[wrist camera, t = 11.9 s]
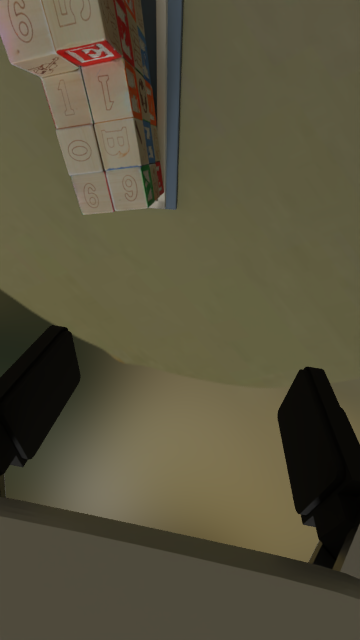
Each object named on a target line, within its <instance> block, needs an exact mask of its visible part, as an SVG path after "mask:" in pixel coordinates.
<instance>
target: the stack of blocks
mask: <svg viewBox="0 0 360 640" xmlns="http://www.w3.org/2000/svg"><path fill="white" fill-rule="evenodd" d="M0 36H1V39H2V42H3V44H4V47H5V50H6V52H7V55H8V58H9V61H10V63H11V65H14V66H17V67H19V68H21V69H23V70H25V71H28V72H30V73H32V74H35V75H37V76H39V77H40V78H41V81H42V85H43V88H44V91H45V94H46V98H47V101H48V104H49V107H50V111H51V114H52V117H53V121H54V124H55V127H56V134H57V137H58V140H59V144H60V147H61V150H62V154H63V157H64V160H65V163H66V167H67V170H68V173H69V175H70V176H71V179H72V183H73V186H74V189H75V192H76V196H77V200H78V202H79V206H80V209H81V212H82V214H83V215H86V214H96V213H107V212H114V211H123V210H133V209H144V208H149V207H150V206H151V205H152V204H153V203H154V202H155V200H156V199H158V198H159V197H160V196H161V195H162V194H163V193H164V187H163V180H162V173H161V164H160V160H161V158H160V150H159V141H158V133H157V127H156V116H155V107H154V99H153V90H152V86H151V80H150V72H149V63H148V55H147V46H146V41H145V32H144V23H143V15H142V7H141V0H0Z"/></svg>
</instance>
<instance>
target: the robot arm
mask: <svg viewBox="0 0 360 640" xmlns="http://www.w3.org/2000/svg"><path fill="white" fill-rule="evenodd" d="M79 381H80V371H79V366H78V361H77V357H76V352H75V347H74V343H73V338H72V333H71V332H70V331H68V329H67V328H66V327H61V326H55V325H52V326H50V327H49V328H48V329H47V330H46V331H45V332H44V333H43V334H42V335H41V336H40V337H39V338H38V339H37V340H36V341H35V342H34V343H33V344H32V345H31V346H30V347H29V348H28V349H27V350H26V351H25V353H24V354H23V355H22V356H21V357H20V358H19V359H18V360H17V361H16V362H15V363H14V364H13V365H12V366H11V367H10V368H9V369H8V370H7V371H6V372H5V373H4V374H3V375H2V377H0V640H360V444H359V442H358V440H357V438H356V435H355V433H354V431H353V429H352V426H351V424H350V422H349V420H348V418H347V416H346V413H345V412H344V410H343V409H342V408H341V407H340V405H339V403H338V401H337V398H336V396H335V394H334V392H333V389H332V387H331V385H330V383H329V380H328V378H327V376H326V374H325V372H324V370H323V369H319V368H313V367H305V368H304V370H302V369H301V370H299V372H298V374H297V376H296V378H295V379H294V381H293V383H292V385H291V387H290V389H289V391H288V393H287V395H286V397H285V399H284V400H283V402H282V404H281V406H280V408H279V410H278V422H279V428H280V433H281V438H282V443H283V448H284V453H285V459H286V464H287V469H288V474H289V479H290V484H291V489H292V494H293V500H294V505H295V509H296V511H297V513H298V514H301V518H302V523H303V525H308V526H313V527H316V530H317V534H318V538H319V542H318V544H317V546H316V548H315V551H314V552H313V554H312V556H311V558H310V560H309V562H308V563H306V562H302V561H298V560H293V559H290V558H286V557H281V556H277V555H273V554H269V553H264V552H260V551H255V550H251V549H246V548H242V547H237V546H233V545H228V544H223V543H218V542H214V541H210V540H205V539H200V538H196V537H191V536H187V535H182V534H177V533H172V532H168V531H163V530H159V529H154V528H149V527H145V526H140V525H135V524H131V523H126V522H121V521H116V520H112V519H107V518H102V517H98V516H93V515H88V514H84V513H79V512H74V511H69V510H64V509H60V508H54V507H50V506H45V505H40V504H36V503H31V502H26V501H21V500H15V499H9V498H6V494H5V478H4V473H5V471H6V470H7V468H8V467H9V465H14V466H19V467H23V466H24V465H25V463H26V462H27V460H28V459H32V457H33V456H34V455H35V454H36V452H37V450H38V449H39V447H40V446H41V444H42V442H43V440H44V439H45V437H46V436H47V434H48V432H49V431H50V429H51V427H52V426H53V424H54V423H55V421H56V419H57V418H58V416H59V415H60V413H61V411H62V409H63V408H64V406H65V405H66V403H67V401H68V400H69V398H70V397H71V395H72V393H73V392H74V390H75V388H76V387H77V385H78V383H79Z"/></svg>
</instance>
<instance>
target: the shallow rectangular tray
mask: <svg viewBox="0 0 360 640" xmlns="http://www.w3.org/2000/svg"><path fill="white" fill-rule="evenodd" d="M141 7H142V15H143V23H144V32H145V41H146V46H147V55H148V63H149V72H150V80H151V86H152V90H153V99H154V107H155V116H156V127H157V133H158V141H159V150H160V158H161V160H160V164H161V173H162V180H163V187H164V193H163V194H162V195H161V196H160V197H159V198H158V199H156V200H155V202H154V203H153V204H152V205H151V206H150V207H149V208H160V209H175V210H176V208H177V184H178V153H179V121H180V89H181V58H182V26H183V0H141Z"/></svg>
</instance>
